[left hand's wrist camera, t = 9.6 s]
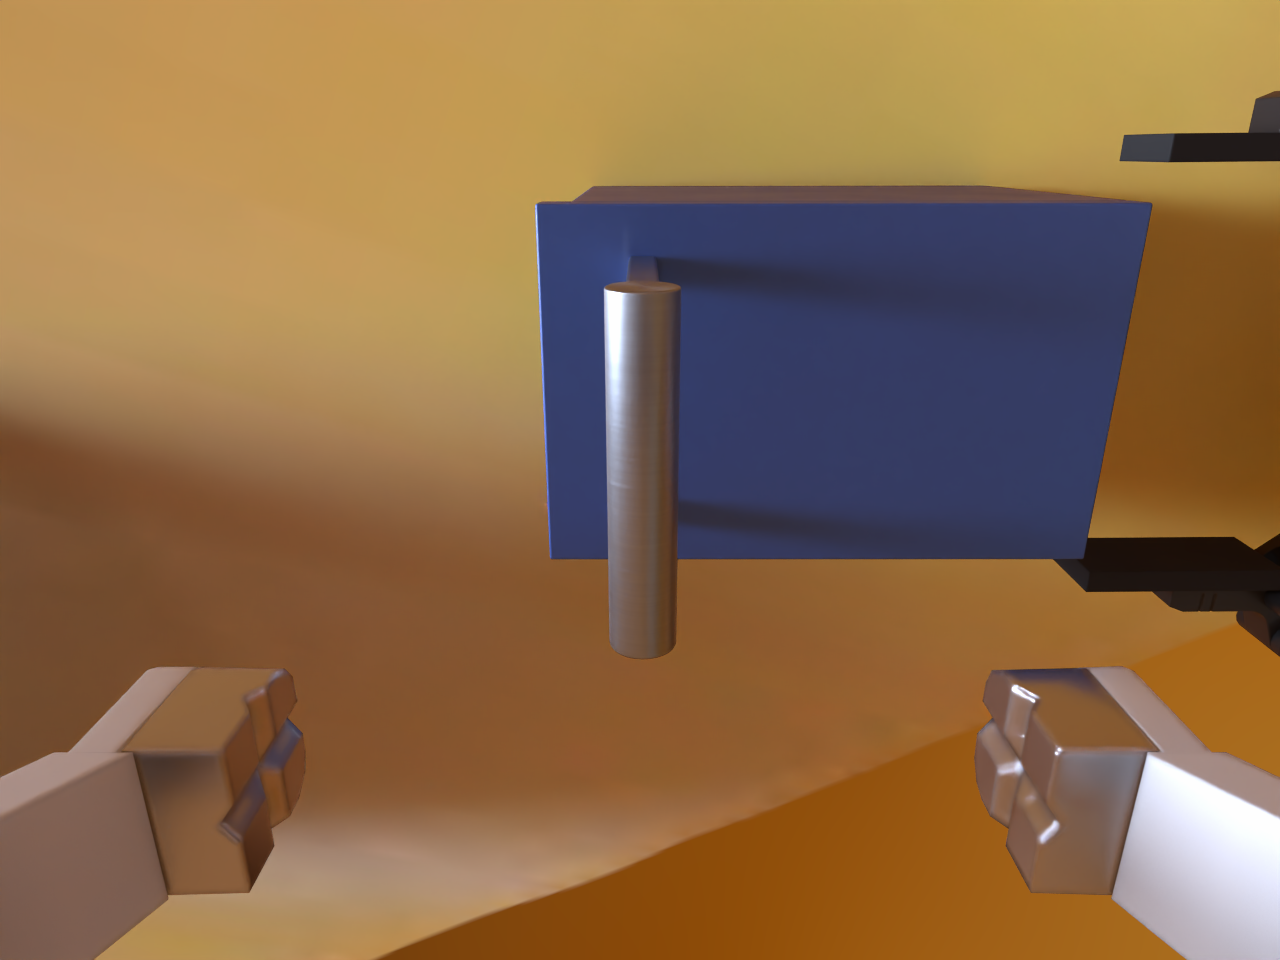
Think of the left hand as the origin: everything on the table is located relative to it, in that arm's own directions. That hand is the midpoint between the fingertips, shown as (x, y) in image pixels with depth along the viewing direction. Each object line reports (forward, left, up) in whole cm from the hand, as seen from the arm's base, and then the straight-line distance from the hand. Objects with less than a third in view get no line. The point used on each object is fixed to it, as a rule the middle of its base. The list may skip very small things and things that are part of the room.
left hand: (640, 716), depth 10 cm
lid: (+2, -5, -15) cm, 16 cm away
